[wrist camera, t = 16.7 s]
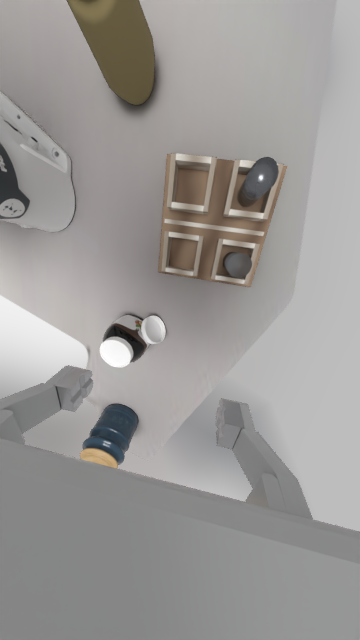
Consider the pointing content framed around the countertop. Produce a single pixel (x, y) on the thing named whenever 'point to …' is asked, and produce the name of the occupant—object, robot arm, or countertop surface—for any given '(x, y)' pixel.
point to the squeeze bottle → (119, 44)
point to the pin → (258, 181)
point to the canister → (110, 436)
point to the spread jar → (130, 339)
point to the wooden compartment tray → (212, 220)
